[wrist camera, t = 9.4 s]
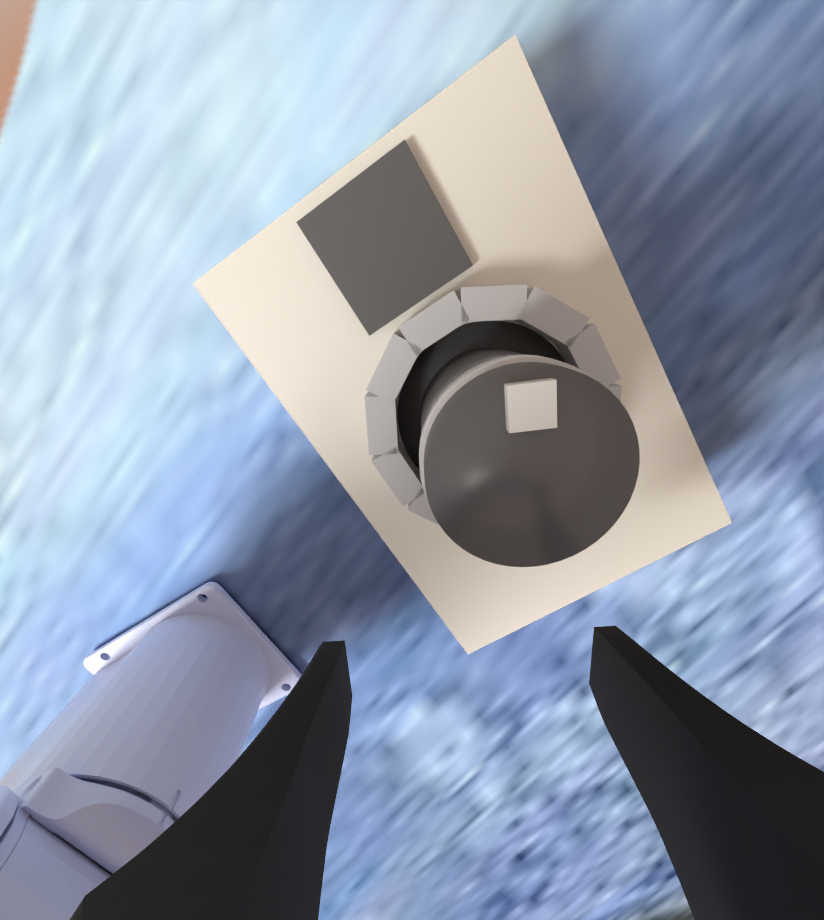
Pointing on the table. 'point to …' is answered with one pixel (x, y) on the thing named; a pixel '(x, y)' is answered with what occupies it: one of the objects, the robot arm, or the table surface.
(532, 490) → the lens
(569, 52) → the table surface
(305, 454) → the table surface
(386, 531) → the camera body
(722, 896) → the robot arm
